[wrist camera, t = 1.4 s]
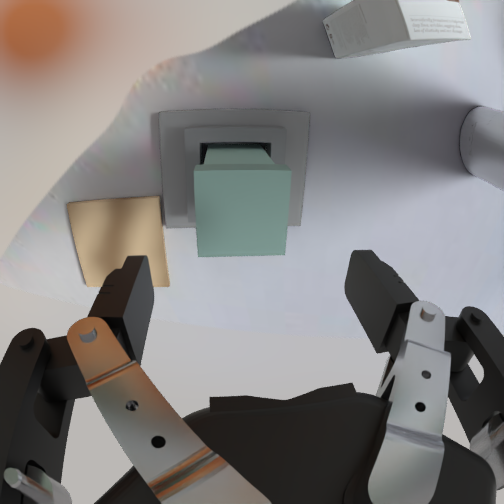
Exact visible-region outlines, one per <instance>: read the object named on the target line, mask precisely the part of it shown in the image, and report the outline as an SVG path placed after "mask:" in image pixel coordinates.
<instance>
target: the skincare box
mask: <svg viewBox="0 0 504 504" xmlns="http://www.w3.org/2000/svg"><path fill="white" fill-rule="evenodd" d="M323 24H324V27H325V29H326V32H327V35H328V38H329V41H330V44H331V47H332V50H333V52H334V56H335V57H336V58H338V59H341V58H351V57H359V56H366V55H372V54H379V53H385V52H390V51H395V50H400V49H405V48H411V47H418V46H423V45H430V44H437V43H445V42H451V41H458V40H470V39H471V36H470V32H469V28H468V25H467V22H466V19H465V16H464V14H463V11H462V8H461V5H460V3H459V0H353V1H351V2H350V3H348V4H347V5H345V6H343V7H342V8H340V9H339V10H337V11H336V12H334V13H333V14H331V15H330V16H328V17H327V18H325V19H324V20H323Z"/></svg>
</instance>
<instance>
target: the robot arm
mask: <svg viewBox="0 0 504 504" xmlns="http://www.w3.org/2000/svg"><path fill="white" fill-rule="evenodd" d="M460 152H461V157H462V160H463V163H464V165H465V167H466V168H467V170H468V171H469V172H470V173H471V174H473V175H474V176H476V177H478V178H480V179H482V180H484V181H486V182H488V183H490V184H492V185H493V186H495V187H497V188H499V189H500V190H502V191H504V111H500V110H496V109H492V108H488V107H481V106H480V107H476V108H474V109H473V110H471V112H470V113H469V114H468V115H467V117H466V118H465V120H464V123H463V126H462V129H461V134H460ZM345 294H346V297H347V299H348V301H349V303H350V304H351V306H352V308H353V310H354V312H355V313H356V315H357V317H358V319H359V321H360V323H361V324H362V326H363V328H364V330H365V332H366V334H367V336H368V338H369V339H370V341H371V343H372V345H373V347H374V348H375V351H376V353H382V352H388V351H389V353H390V356H389V357H388V360H387V363H386V366H385V369H384V372H383V375H382V379H381V382H380V385H379V388H378V391H377V394H376V396H374V395H371V394H366V393H360V392H356V390H355V388H354V385H353V383H348V384H343V385H336V386H330V387H324V388H319V389H316V390H314V391H311V392H309V393H306V394H303V395H300V396H297V397H295V398H292V399H289V400H277V399H268V398H260V397H253V396H229V397H210V407H209V408H205V409H202V410H199V411H196V412H194V413H191V414H189V415H187V416H186V417H184V418H181V417H180V416H179V415H178V414H177V412H176V411H175V410H174V409H173V408H172V406H171V405H170V404H169V403H168V402H167V400H166V399H165V398H164V397H163V396H162V394H161V393H160V392H159V391H158V389H157V388H156V386H155V385H154V384H153V383H152V381H151V380H150V379H149V377H148V376H147V375H146V373H145V372H144V371H143V369H142V368H141V367H140V365H141V360H142V355H143V349H144V345H145V340H146V336H147V331H148V327H149V322H150V318H151V313H152V309H153V305H154V289H153V283H152V278H151V272H150V266H149V260H148V257H147V255H133V256H127V258H126V260H125V262H124V264H123V266H122V268H121V269H114V270H113V271H112V272H111V273H110V274H109V275H108V276H106V278H105V280H104V283H103V285H102V287H101V289H100V291H99V294H98V295H97V297H96V299H95V301H94V303H93V306H92V308H91V310H90V312H89V314H88V317H87V318H83V319H81V320H79V321H77V322H75V323H74V324H73V325H72V326H71V327H70V328H69V330H68V333H67V336H62V337H57V338H52V339H46V338H45V336H44V334H43V332H42V331H41V330H39V329H36V328H29V329H25V330H23V331H21V332H19V333H18V334H17V335H16V336H15V337H14V338H13V339H12V341H11V343H10V345H9V347H8V349H7V351H6V353H5V356H4V357H3V360H2V362H1V364H0V504H72V500H71V497H70V494H69V493H68V491H67V490H66V489H65V487H64V486H63V485H61V477H62V469H63V462H64V455H65V448H66V442H67V436H68V431H69V426H70V420H71V416H72V411H73V406H74V402H75V399H77V398H83V397H89V396H92V397H93V399H94V401H95V403H96V404H97V407H98V408H99V410H100V412H101V414H102V416H103V417H104V419H105V421H106V423H107V424H108V426H109V428H110V429H111V431H112V433H113V434H114V436H115V438H116V439H117V441H118V442H119V444H120V446H121V447H122V449H123V450H124V452H125V453H126V455H127V456H128V458H129V459H130V461H131V462H132V464H133V465H134V466H133V467H132V468H131V469H130V470H129V471H128V472H127V473H126V474H125V475H124V476H123V477H122V478H121V479H119V481H118V482H116V483H115V484H114V485H113V486H112V487H111V488H110V489H109V490H108V491H107V492H106V493H105V494H104V495H103V496H102V497H101V498H99V500H97V501H96V502H95V503H94V504H496V490H500V489H502V488H504V337H503V335H502V334H501V333H500V331H499V330H498V329H497V327H496V326H495V325H494V323H493V322H492V321H491V320H490V318H489V317H488V316H487V315H486V314H485V313H484V312H483V311H481V310H480V309H478V308H475V307H470V306H469V307H465V308H463V309H462V311H461V313H460V315H459V317H449V316H445V315H444V313H443V311H442V310H441V309H440V308H439V307H438V306H436V305H435V304H433V303H430V302H427V301H419V300H418V298H417V297H416V296H415V295H414V293H413V292H412V291H411V290H410V288H409V287H408V286H407V285H406V284H405V283H404V282H403V280H402V279H401V277H399V276H398V274H397V273H396V271H395V270H394V269H393V268H392V267H391V266H389V265H388V264H386V263H384V262H383V261H381V260H380V259H379V258H378V257H377V256H376V254H375V253H374V252H373V251H372V250H354V251H353V252H352V254H351V258H350V262H349V267H348V271H347V276H346V280H345ZM474 354H475V356H476V357H477V359H478V361H479V362H480V364H481V365H482V367H483V369H484V378H483V380H482V382H481V383H480V384H479V382H478V380H477V379H476V377H475V375H474V374H473V372H472V370H471V369H470V367H469V365H468V363H469V361H470V359H471V358H472V356H473V355H474ZM448 397H449V399H450V401H451V403H452V406H453V407H454V410H455V412H456V414H457V416H458V418H459V420H460V422H461V424H462V427H463V429H464V431H465V433H466V436H467V438H468V440H469V442H470V450H469V449H467V448H466V447H464V446H462V445H460V444H458V443H457V442H455V441H453V440H451V439H450V438H448V437H446V436H445V435H443V434H442V432H443V427H444V420H445V413H446V407H447V398H448Z"/></svg>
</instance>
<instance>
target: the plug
mask: <svg viewBox="0 0 504 504" xmlns="http://www.w3.org/2000/svg"><path fill="white" fill-rule="evenodd" d="M291 174H292V170H291V169H290V168H289V167H288V166H287V165H286V164H275V163H274V162H273V161H272V159H271V158H270V157H269V156H268V154H267V153H266V152H265V151H264V149H263V148H262V147H261V145H260V144H209V145H208V149H207V153H206V157H205V161H204V165H196V166H195V169H194V193H195V215H196V232H197V248H198V257H226V256H265V255H285V248H286V237H287V225H288V213H289V201H290V188H291Z"/></svg>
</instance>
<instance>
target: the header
mask: <svg viewBox="0 0 504 504" xmlns="http://www.w3.org/2000/svg"><path fill="white" fill-rule="evenodd" d="M309 120H310V113H309V112H299V111H285V110H263V109H201V110H180V111H165V112H159V131H160V154H161V171H162V186H163V199H164V210H165V221H166V228H196V215H195V193H194V169H195V166H196V165H202V143H208V142H266V153H267V154H268V156H269V157H270V158H271V159H272V161H273V162H274V163H275V164H286V165H287V166H288V167H289V168H290V169H291V170H292V174H291V188H290V201H289V213H288V225H287V226H301V217H302V207H303V196H304V185H305V174H306V162H307V149H308V135H309Z"/></svg>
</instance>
